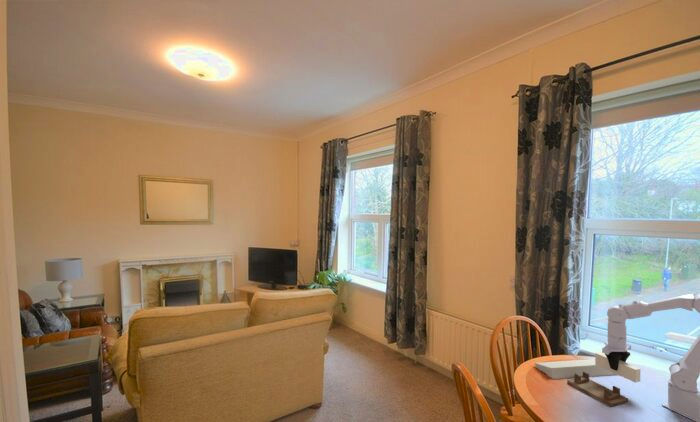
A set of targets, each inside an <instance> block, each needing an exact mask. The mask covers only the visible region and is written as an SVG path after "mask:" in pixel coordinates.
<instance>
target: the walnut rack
mask: <svg viewBox="0 0 700 422" xmlns="http://www.w3.org/2000/svg"><path fill="white" fill-rule="evenodd" d="M566 383H567V384H568V385H570V386H571V387H574V388H575V389H578V390H579V391H581V392H582V393H585V394H587V396H590V397H592V398H594V399H595V400H597V401H600V402H601V403H602V404H605V405H607V406H608V407H610V408H611V407H612V408H613V407H615V406H619V405H622V404H626V403H629V398H628V397H627V396H624V395H622V394H621V388H619V387H617V386H614V385H613V386H612V389H610V388H608V387H606V386H604V385H602V384H600V383H598V382H596V381H594V380H592V379H590V377H589V373H586V372H584V371H583V376H580V375H578V374H576V373H575V378H570V379H568V380H567V381H566Z"/></svg>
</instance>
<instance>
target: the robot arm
mask: <svg viewBox="0 0 700 422" xmlns="http://www.w3.org/2000/svg"><path fill="white" fill-rule="evenodd" d="M674 309H682V310H686V311H690V312H694V310H695V311H696V312H697V313H699V314H700V292H695V294H693V293H688V294H683V295H679V296H674V297H669V298H664V299H660V300H657V301H652V302H645V301H641V300H639V301H638V300H637V299H636V300H632V302H629V303H625V304H622V303H619V304H618V305H617V304H616V305H615V304H614V305H611V306H609V308H608V310H607V312H606V315H607V317H608V318H607V341H606V342H605V341H604V345H605V346H604V347H602V348H601V351H602V352H601V353H604V354H605V355H606V357H607V359H608V362H609V365H610V368H611V369H613V370H615V371H617V370H618V365H619V361H620V360H621V361H623V362H626V361H627V360H628V359H629V357H630V356H631V352H629V351H630V350H632V344H629V343H627V326H626V320H634V319H640V318H645V317H651V315H652V314H653V313H654V312H659V311H660V312H661V311H668V310H674ZM693 309H694V310H693ZM626 363H627V362H626ZM668 370H669V374H670V379H668V380H667V401H668V402H665V403H662V405H661V406H662V407H664V408H666V409H669V410H671V411H672V412H676V413H677V414H679V415H681V416H683V417H686V418H687V419H690V420H691V421H694V422H700V391H699V389H698V383H697V381H698V379H699V377H700V333H699V335H697V337H696V339H695V340H694V341H693V343H692V344H691V346H690V347H689V348H688V350H687V351H686V352H685V354H684V356H683V357H682V358H679V360H678V361H677V362H675V363H672V364H670V365H669V369H668Z"/></svg>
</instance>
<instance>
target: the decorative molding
mask: <svg viewBox="0 0 700 422" xmlns="http://www.w3.org/2000/svg"><path fill="white" fill-rule="evenodd" d="M534 365H535V368H536V369H538V371H541V372H543V373H545V374H546V376H547V377H549V378H551V379H552V380H560V379H562V380H563V379H574V378H575V373H576V374H578V375H580V376H583V371H584V372H586V373H589V378H590V377H602V376H603V377H604V376H617V374H615V373H613V372H611V371H609V370H606V369H604V368H602V367H600V366H598V365H595V358H591V359H578V360H577V359H575V360H574V359H573V360H561V361H547V362H546V361H544V362H534Z"/></svg>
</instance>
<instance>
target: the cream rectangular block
mask: <svg viewBox="0 0 700 422" xmlns="http://www.w3.org/2000/svg"><path fill="white" fill-rule="evenodd" d="M594 356H595V357H594V359H595V365H598V366H600V367H602V368H604V369H606V370H609V371H611V372H613V373H615V374H617V375H618V376H620V377H622V378H624V379H626V380H629V381H631V382H633V383H639V382H641V368H640V367H638V366H635V365H633V364H630V363H627V362H623V361H621V360H620V361H619V365H618V370H617V371H615V370H613V369H611V368H610V365H609V362H608V359H607V357H606V355H605V353H602V352H601V351H599V352H595V355H594ZM617 375H616V376H617Z"/></svg>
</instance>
